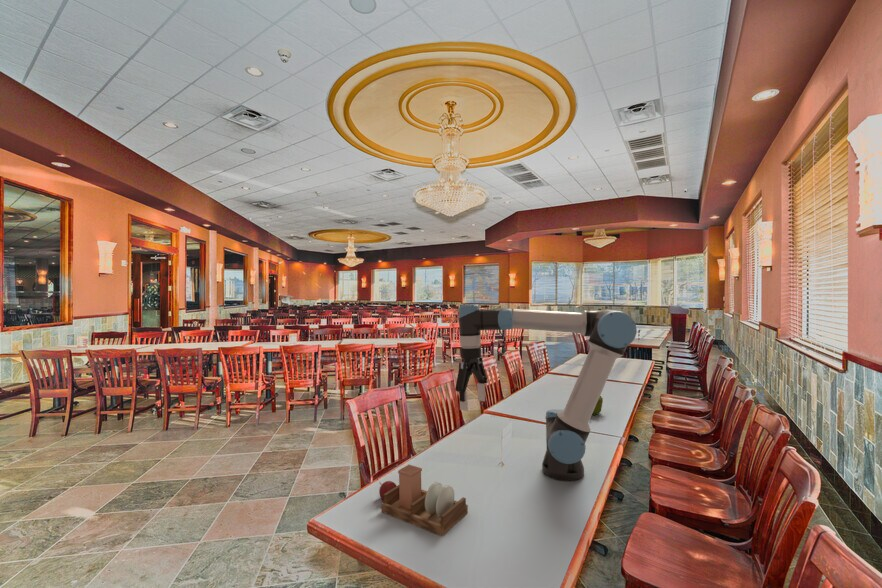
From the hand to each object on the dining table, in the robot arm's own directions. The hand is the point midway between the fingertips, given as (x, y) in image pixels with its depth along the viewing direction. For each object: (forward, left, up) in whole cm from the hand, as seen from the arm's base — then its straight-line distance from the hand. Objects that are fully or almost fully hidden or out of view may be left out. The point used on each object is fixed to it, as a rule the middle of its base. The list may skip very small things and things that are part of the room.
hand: (473, 405), depth 140 cm
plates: (-3, +26, -26) cm, 37 cm away
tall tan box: (+8, +26, -26) cm, 38 cm away
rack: (+3, +26, -27) cm, 38 cm away
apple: (-16, -105, -28) cm, 110 cm away
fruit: (+19, +26, -28) cm, 43 cm away
